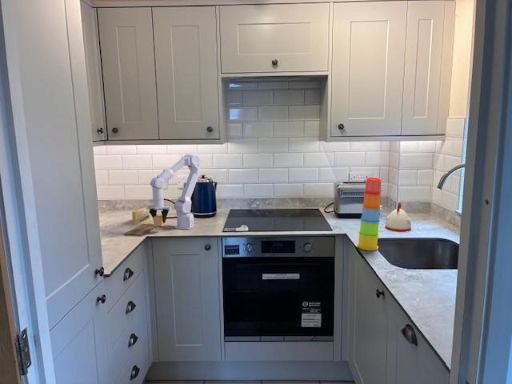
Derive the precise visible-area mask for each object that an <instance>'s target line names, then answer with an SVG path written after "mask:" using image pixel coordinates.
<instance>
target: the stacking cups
mask: <svg viewBox="0 0 512 384" xmlns="http://www.w3.org/2000/svg"><path fill="white" fill-rule="evenodd" d="M381 191H382V180H381V178H379V177H367V178H366V179H365V188H364V192H363V195H364V196H363V204H362V205H361V206H362V213H361V217H360V229H359V231H358V232H357V233H358V242H357V244H356V247H357V248H358V249H360V250H363V251H369V252H370V251H373V252H374V251H377V250H378V249H379V246H378V237H379V236H380V233H379V225H380V222H381V220H380V213H381V211H380V210H381V209H382V207H381V195H382V192H381Z"/></svg>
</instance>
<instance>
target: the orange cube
mask: <svg viewBox="0 0 512 384" xmlns="http://www.w3.org/2000/svg"><path fill="white" fill-rule="evenodd" d="M153 220H154V221H153ZM152 221H153V224H154V226H158V227H163V226H164V225H166V224H167V221H166V222H165V223H163V218H162V214H157V215H156V216H154V217H153V218H152Z"/></svg>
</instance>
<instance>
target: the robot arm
mask: <svg viewBox="0 0 512 384" xmlns="http://www.w3.org/2000/svg"><path fill="white" fill-rule="evenodd" d="M201 163H202V160H201V158H200V156H199V155H198V154H190V153H185V155H184V156H182V157H181V158H180V159H179V160H178V161H177V162H176V163H174V164H173V165H172V166H171V167H170V168H166V169H163V170H162V172H161V173H159V174H156V177H153V178H152V179H150V182H149V185H150V187H151V188H152V199H153V200H152V201H153V202H152V203H153V205H146V206H145V207H146V209H147V210H148V209H150V211H149V213H150V217H151V218H152V221H153V222H154V220H153V217H154V216H156V215H158V214H157V213H158V212H157V211H160V213H161V215H162V218H163V223H165V222H166V223H167V217H168V214H169V212H170V211H172V206H171V205H165V202H164V199H165V197H164V187H165V184H166V183H167V182H168V181H169V180H171V179H173V177H174V174H175V173H176V172H177V171H179V170H180V169H182V168H183V167H185V166H187V168H188V169H189V173H188V177H187V179H186V183H185V184H184V187H183V190H182V193H181V195H180V196H179V197H178V198H177V201H176V202H175V203H174V206H173V207H174V208H173V209H174V210H175V211H176V226H175V227H174V229H175V230H176V229H177V230H191V229H192V228H193V227H195V224H194V223H195V220H194V219H195V218H194V213H191V212H190V211H191V209H192V200H191V199H192V198H191V197H192V195H193V193H194V189H195V187H196V184H197V181H198V178H199V175H200V174H201Z"/></svg>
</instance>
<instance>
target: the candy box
mask: <svg viewBox="0 0 512 384" xmlns="http://www.w3.org/2000/svg"><path fill="white" fill-rule="evenodd" d="M149 211H150V209H148V210H147V209H146V206H144V207H143V208H139V209H137V210H134V211H132V213H131V214H132V215H131V218H132V219H131V220H132V225H133V226H136V225H137V224H141V223H142V222H145V221H147V220H151V214H150V213H149Z"/></svg>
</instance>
